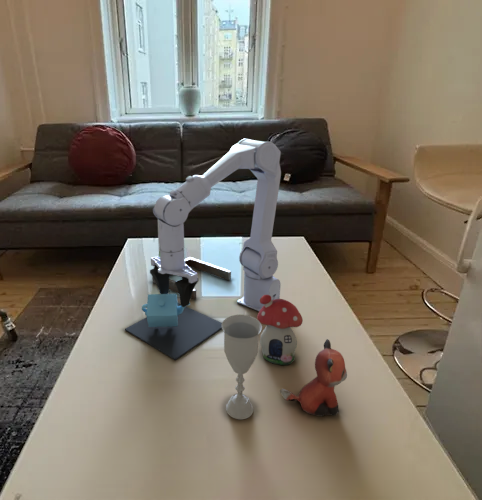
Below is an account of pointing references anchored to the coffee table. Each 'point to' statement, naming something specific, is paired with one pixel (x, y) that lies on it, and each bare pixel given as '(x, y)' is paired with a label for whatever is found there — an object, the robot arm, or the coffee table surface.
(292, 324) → the decorative ornament
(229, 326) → the chalice
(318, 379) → the stuffed fox
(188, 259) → the brown u-shaped frame
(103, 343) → the coffee table surface
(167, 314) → the teapot
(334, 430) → the coffee table surface
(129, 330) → the placemat
